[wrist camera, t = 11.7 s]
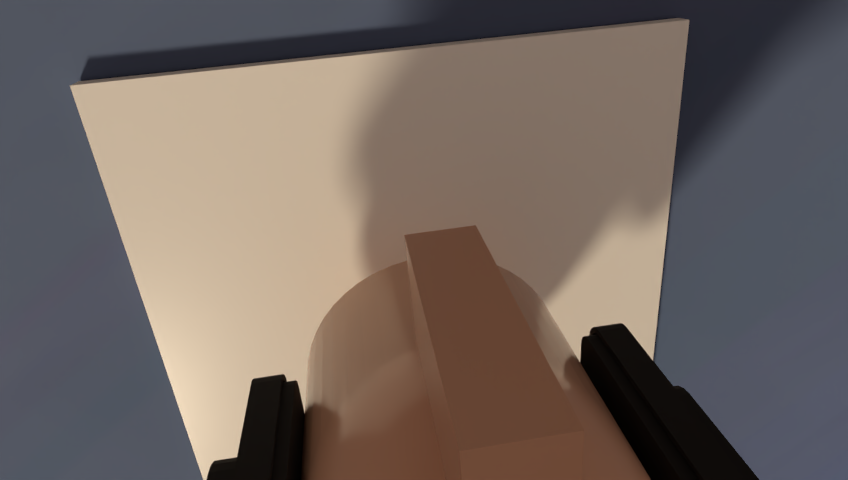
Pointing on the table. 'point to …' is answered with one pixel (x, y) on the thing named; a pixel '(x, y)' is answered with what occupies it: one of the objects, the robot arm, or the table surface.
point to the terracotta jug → (453, 379)
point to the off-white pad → (384, 190)
